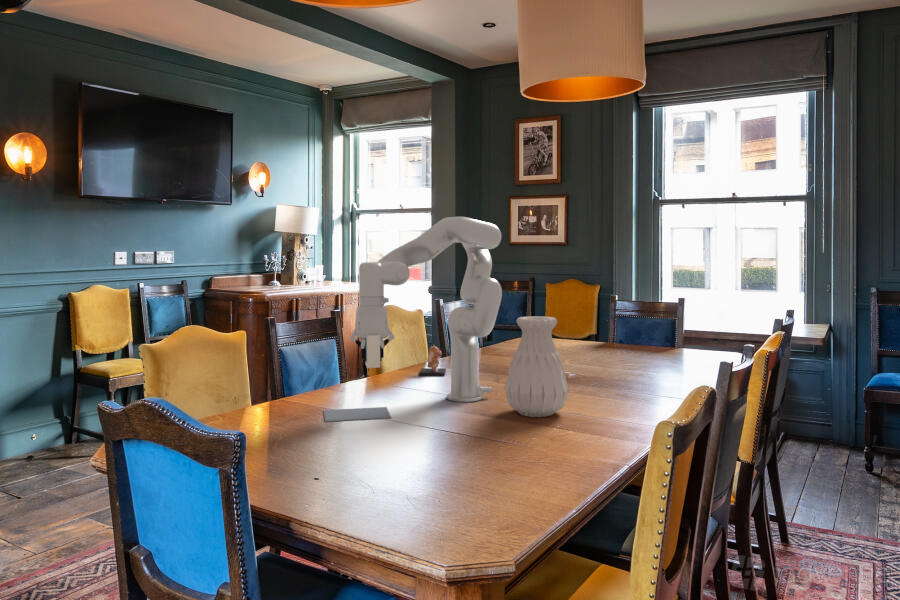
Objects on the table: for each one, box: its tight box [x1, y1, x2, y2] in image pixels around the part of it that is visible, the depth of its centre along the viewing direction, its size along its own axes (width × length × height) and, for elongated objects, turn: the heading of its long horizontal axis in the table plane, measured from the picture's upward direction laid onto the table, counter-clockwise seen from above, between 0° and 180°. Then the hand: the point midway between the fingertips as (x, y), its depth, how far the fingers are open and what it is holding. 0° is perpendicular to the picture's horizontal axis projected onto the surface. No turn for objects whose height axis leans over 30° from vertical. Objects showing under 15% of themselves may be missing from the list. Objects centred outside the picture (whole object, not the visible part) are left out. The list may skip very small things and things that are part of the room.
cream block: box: [364, 335, 381, 369], centre depth 216 cm, size 4×7×10 cm, turn 11°
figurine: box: [418, 344, 447, 377], centre depth 284 cm, size 10×10×12 cm
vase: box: [504, 315, 569, 418], centre depth 216 cm, size 20×20×30 cm
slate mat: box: [323, 406, 392, 423], centre depth 216 cm, size 20×14×1 cm
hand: (372, 359), depth 216 cm, fingers closed on cream block, 4 cm apart
